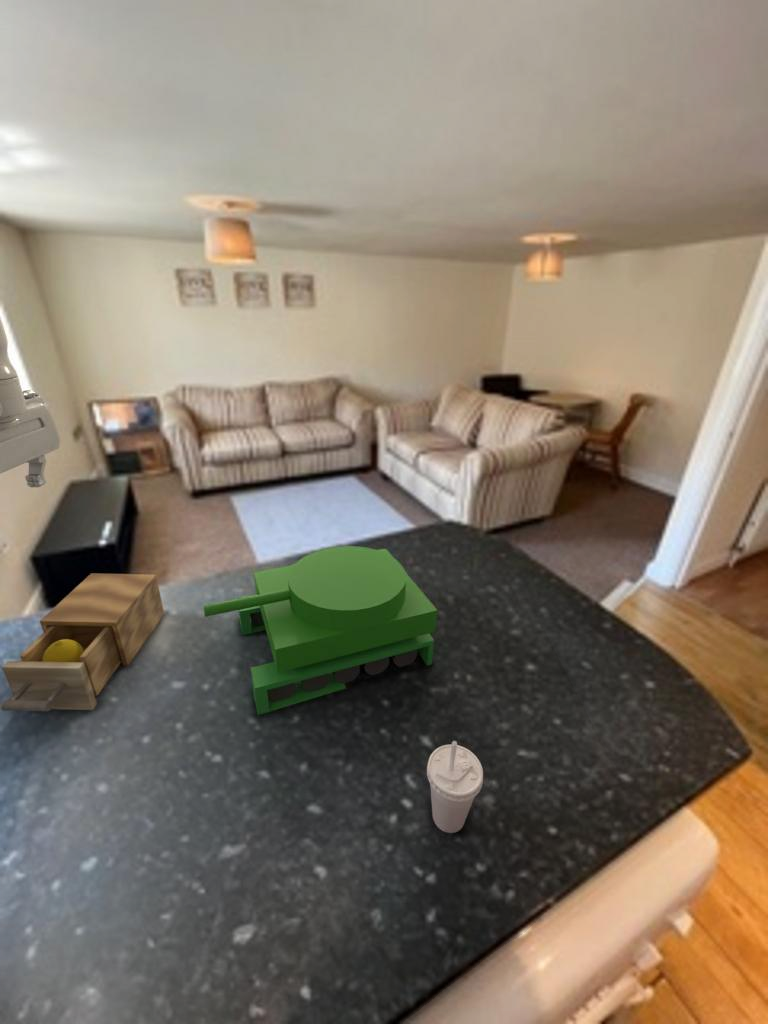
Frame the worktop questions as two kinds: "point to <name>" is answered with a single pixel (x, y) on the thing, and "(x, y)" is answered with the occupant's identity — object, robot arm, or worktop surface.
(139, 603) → the cabinet
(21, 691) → the drawer
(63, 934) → the worktop surface
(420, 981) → the worktop surface
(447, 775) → the smoothie
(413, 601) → the tank
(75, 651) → the lemon
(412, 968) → the worktop surface
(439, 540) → the worktop surface
